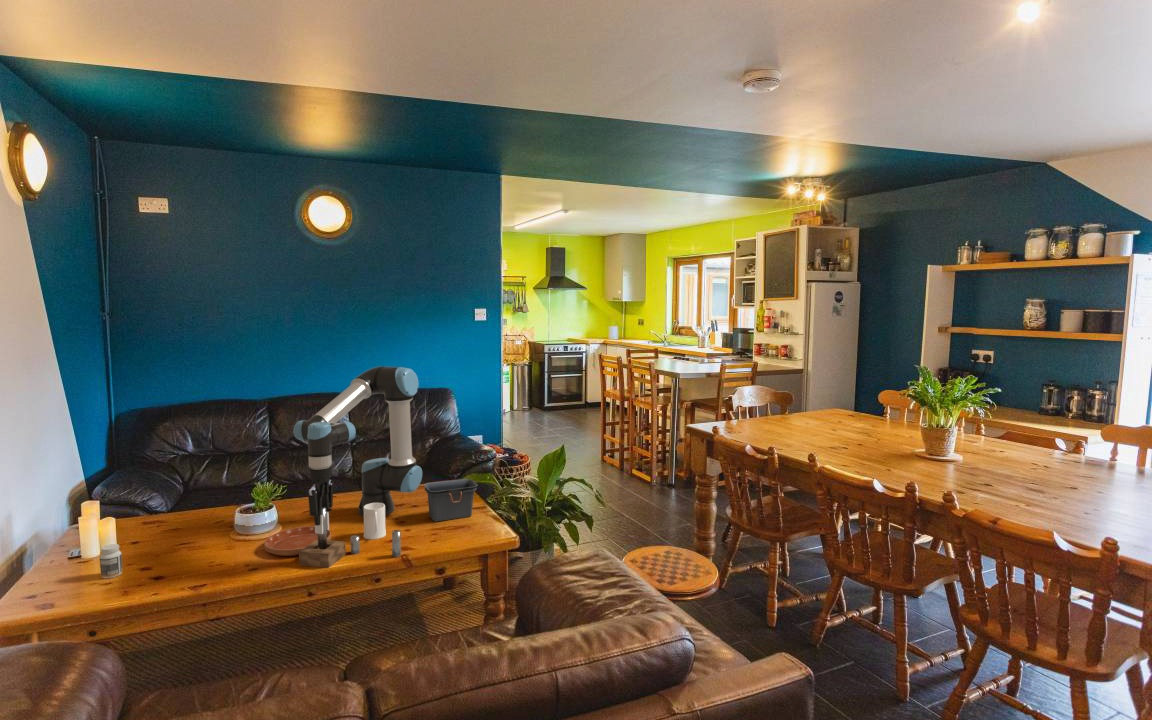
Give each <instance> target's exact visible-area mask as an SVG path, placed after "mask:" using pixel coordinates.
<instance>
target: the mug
mask: <svg viewBox="0 0 1152 720" xmlns="http://www.w3.org/2000/svg"><path fill="white" fill-rule="evenodd" d="M386 535H387V532H386V515H385V504H383V503H370V504H367V505H365V506H364V516H363V538H364V539H366V540H378V539H382V538H384V537H386Z"/></svg>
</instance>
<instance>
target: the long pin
mask: <svg viewBox="0 0 1152 720" xmlns="http://www.w3.org/2000/svg"><path fill="white" fill-rule="evenodd" d="M321 515H323V534H318V548H324V547H327V522H326V507H322V510H321Z"/></svg>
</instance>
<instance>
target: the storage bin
mask: <svg viewBox="0 0 1152 720" xmlns="http://www.w3.org/2000/svg"><path fill="white" fill-rule="evenodd" d="M423 486H424V491H425V492H426V493H427V503H428V514H429V517H430V518H431V520H432V521H433V522H442V521H449V520H455V519H464V518H469V517H471V516H472V514H473V506H474V505H473V504H474V495H475V492H476V491H477V489H478V488H477V487H478V483H477V482H475V481H474V480H473V479H471V478H460V479H452V480H449V479H448V480H441V481H434V482H433V481H432V482H426V483H424V484H423Z"/></svg>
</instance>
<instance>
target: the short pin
mask: <svg viewBox="0 0 1152 720" xmlns="http://www.w3.org/2000/svg"><path fill="white" fill-rule="evenodd" d="M360 547H361V546H360V535H357V534H355V535H354V534H353V535H351V536H350V554H352V555H357V554H360V549H361V548H360Z"/></svg>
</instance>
